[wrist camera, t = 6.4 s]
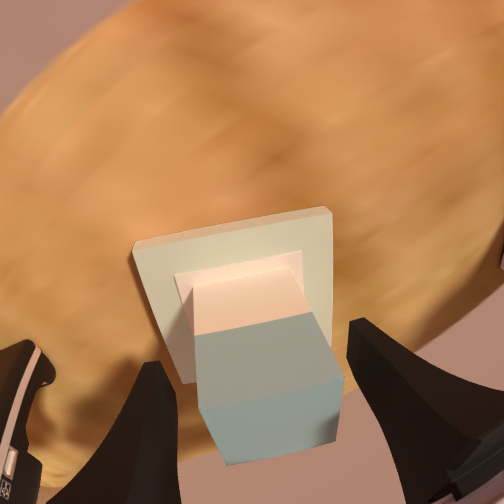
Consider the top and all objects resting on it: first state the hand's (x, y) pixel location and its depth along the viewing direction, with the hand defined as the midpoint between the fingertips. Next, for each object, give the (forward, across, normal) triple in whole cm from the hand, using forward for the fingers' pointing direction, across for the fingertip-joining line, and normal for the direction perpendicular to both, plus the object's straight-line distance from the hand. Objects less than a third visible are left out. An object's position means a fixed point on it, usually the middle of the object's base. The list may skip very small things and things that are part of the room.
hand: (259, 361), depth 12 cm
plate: (+4, 0, 0) cm, 4 cm away
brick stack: (+3, 0, 0) cm, 3 cm away
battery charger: (+4, +14, +2) cm, 15 cm away
